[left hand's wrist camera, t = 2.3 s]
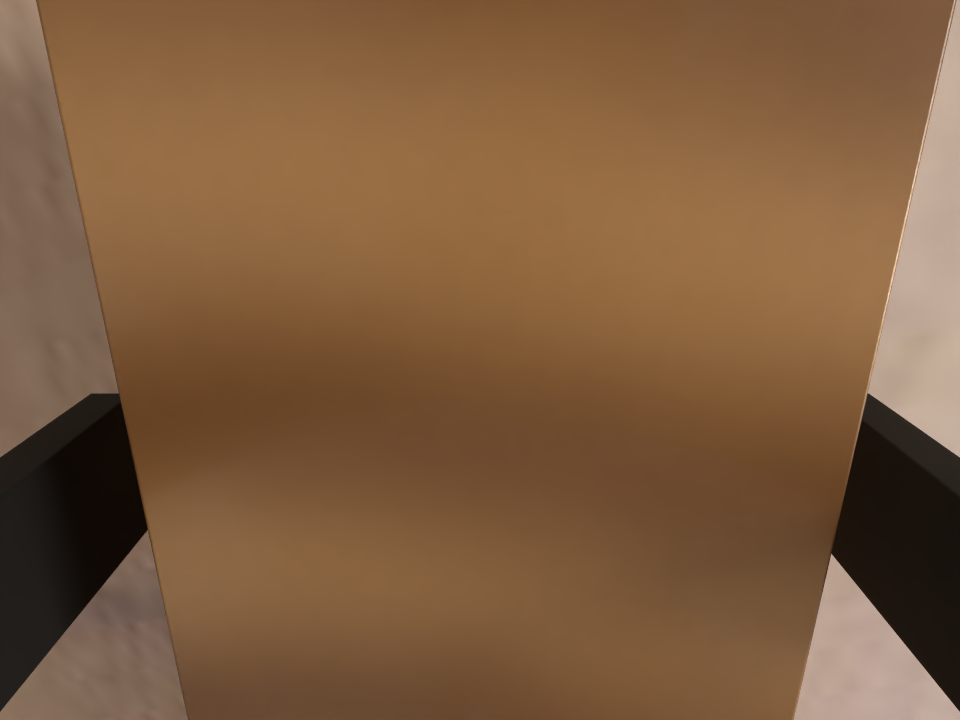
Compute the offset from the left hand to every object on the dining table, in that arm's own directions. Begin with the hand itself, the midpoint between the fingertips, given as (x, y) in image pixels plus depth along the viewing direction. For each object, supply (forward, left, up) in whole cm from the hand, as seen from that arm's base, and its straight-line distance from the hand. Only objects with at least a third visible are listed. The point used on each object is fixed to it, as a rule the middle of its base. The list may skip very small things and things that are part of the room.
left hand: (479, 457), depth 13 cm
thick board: (+20, +4, -3) cm, 21 cm away
